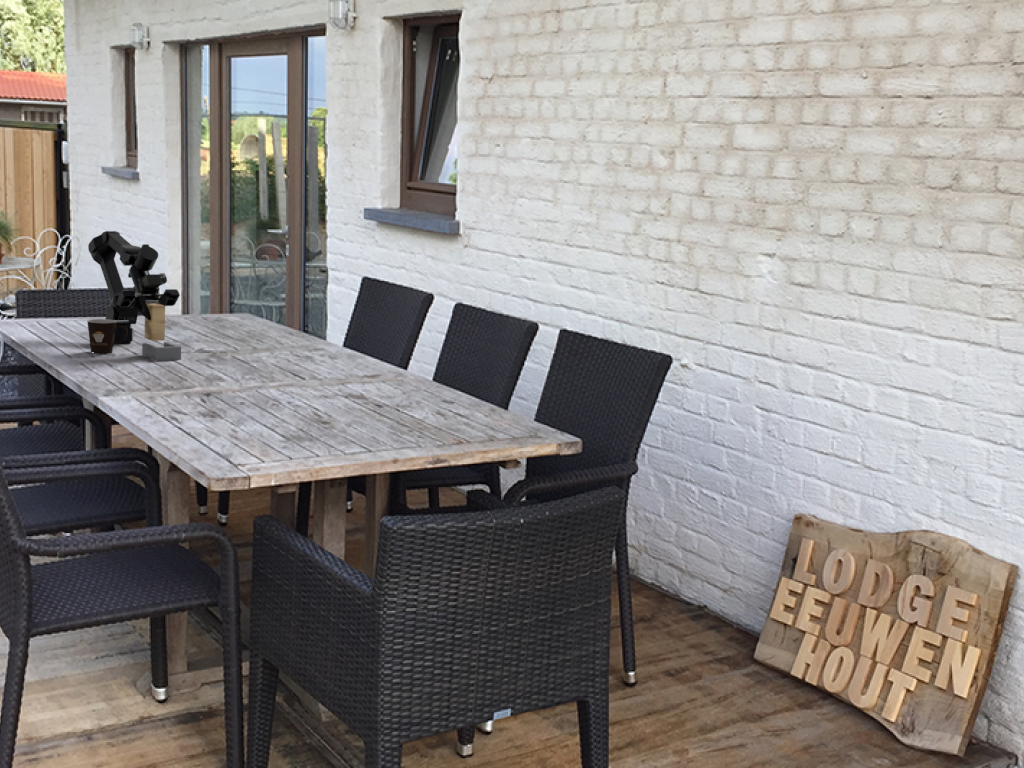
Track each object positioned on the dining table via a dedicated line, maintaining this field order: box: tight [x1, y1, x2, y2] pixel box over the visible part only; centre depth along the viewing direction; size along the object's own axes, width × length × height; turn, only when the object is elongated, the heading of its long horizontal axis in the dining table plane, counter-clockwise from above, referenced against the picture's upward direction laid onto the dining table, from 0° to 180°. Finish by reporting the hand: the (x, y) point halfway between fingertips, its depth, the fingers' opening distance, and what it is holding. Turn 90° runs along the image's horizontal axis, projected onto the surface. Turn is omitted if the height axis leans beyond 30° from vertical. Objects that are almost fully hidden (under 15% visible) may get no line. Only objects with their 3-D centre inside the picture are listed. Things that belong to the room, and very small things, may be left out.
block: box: [144, 302, 166, 342], centre depth 381 cm, size 6×4×11 cm, turn 41°
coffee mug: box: [87, 318, 128, 354], centre depth 380 cm, size 12×9×10 cm
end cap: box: [141, 341, 182, 362], centre depth 379 cm, size 10×8×4 cm
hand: (156, 319), depth 380 cm, fingers closed on block, 4 cm apart
